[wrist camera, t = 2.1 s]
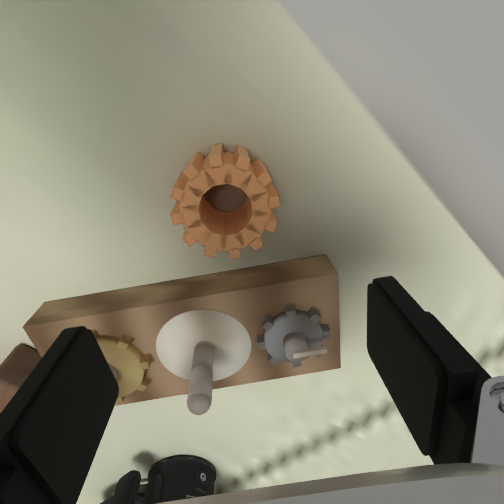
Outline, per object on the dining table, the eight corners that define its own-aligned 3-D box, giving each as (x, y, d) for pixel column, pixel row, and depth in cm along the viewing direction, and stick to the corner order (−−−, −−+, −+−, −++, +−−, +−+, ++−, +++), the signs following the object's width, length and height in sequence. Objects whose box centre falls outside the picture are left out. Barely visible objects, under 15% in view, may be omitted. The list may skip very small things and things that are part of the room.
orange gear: (169, 152, 24) (156, 165, 19) (264, 135, 24) (272, 145, 19) (192, 238, 27) (185, 266, 23) (275, 224, 27) (285, 249, 23)
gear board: (90, 383, 34) (41, 485, 25) (44, 302, 29) (-37, 393, 20) (330, 342, 34) (366, 430, 25) (325, 254, 29) (369, 325, 20)
